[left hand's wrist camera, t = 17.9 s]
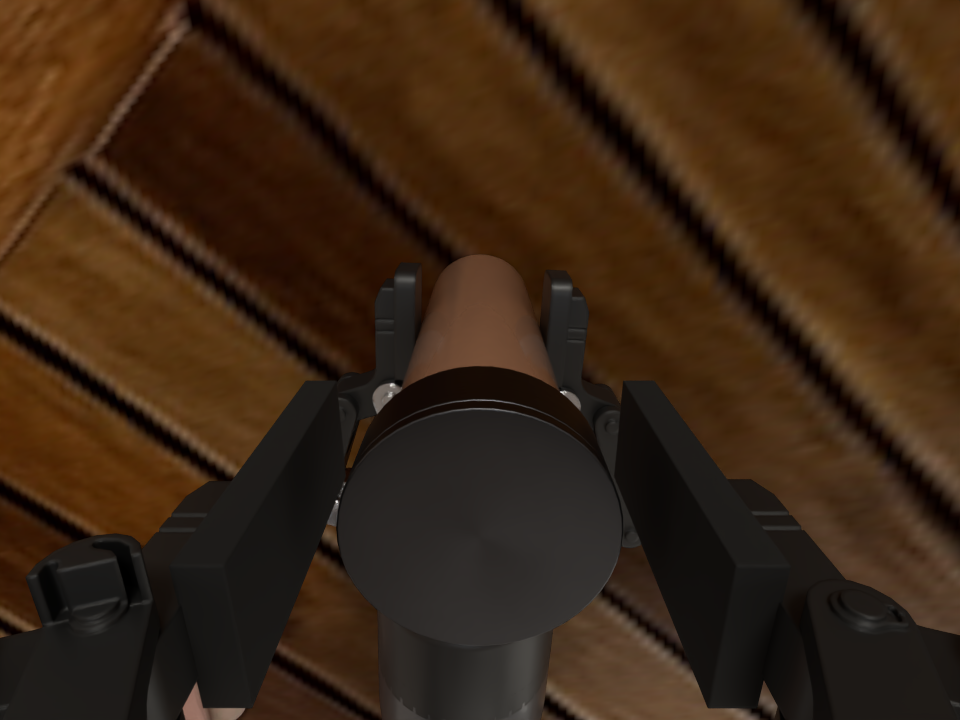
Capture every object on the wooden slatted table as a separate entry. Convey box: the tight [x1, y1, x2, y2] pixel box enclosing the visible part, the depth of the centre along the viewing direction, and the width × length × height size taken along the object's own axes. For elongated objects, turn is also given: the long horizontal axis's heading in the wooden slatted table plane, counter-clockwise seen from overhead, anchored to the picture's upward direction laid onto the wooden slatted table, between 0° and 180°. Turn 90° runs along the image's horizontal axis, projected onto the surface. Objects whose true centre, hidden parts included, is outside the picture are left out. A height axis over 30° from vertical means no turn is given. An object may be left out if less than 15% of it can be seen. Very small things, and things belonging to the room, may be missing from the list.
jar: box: [400, 255, 560, 392], centre depth 18 cm, size 4×4×16 cm
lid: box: [336, 366, 623, 646], centre depth 11 cm, size 5×5×2 cm
